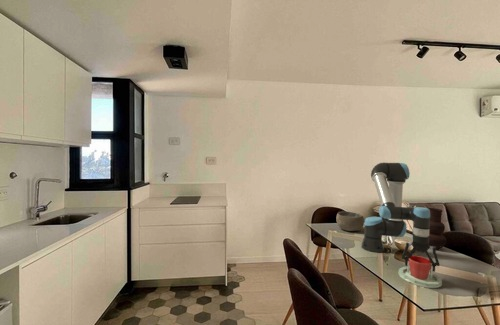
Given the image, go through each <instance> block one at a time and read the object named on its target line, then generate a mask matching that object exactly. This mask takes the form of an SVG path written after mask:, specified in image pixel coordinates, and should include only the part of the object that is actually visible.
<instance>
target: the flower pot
mask: <svg viewBox="0 0 500 325" xmlns="http://www.w3.org/2000/svg"><path fill="white" fill-rule="evenodd" d="M431 264H432V263H431V262H430V260H429V258H426V257H423V256H419V255H412V256H411V257H410V258H409V267H410V272H411V275H412V276H413V277H415V278H418V279H423V280H425V279H427V278H428V275H429V272H430V268H431Z"/></svg>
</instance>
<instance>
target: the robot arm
mask: <svg viewBox="0 0 500 325" xmlns="http://www.w3.org/2000/svg"><path fill="white" fill-rule="evenodd" d="M370 176H371V180H372V182H374V186H375V188H376V192H377V194H378V199H379V201H380V202H379V203H380V206H379V209H378V212H379V213H378V214H379V216H369V217H366V218H364V225H363V226H364V231H363V232H364V236H363V239H362V242H361V244H360V245H361V248H362V249H363V250H365V251H368V252H371V253H383V252H384V251H385V246H384V242H383V240H382V238H383V237H395V238H403V237H404V236H405V235H406V233H407V223H406V221H412V222H413V223H412V224H413V226H412V242H408V241H406V242H405V247H404V250H403V253H402V255H401V259H402V260H404V263H405V264H404V265H405V266H404V267H407V272H408V273H409V267H410V266H409V258H410V257H411V256H414V254H415V253H416V252H417V253H418V252H419V253H422V254H423V253H425V255H426V257H427V259H429V260H430V262H431V263H432V264H431V268H430V277H431V278H432V274H433V273H435V272H436V267H439V266H440V262H439V258H438V256H437V253H436V252H437V250H436V248H435V246H433V247H432V246H429V237H428V236H429V227H430V210H429V209H428V207H421V206H405V207H404V206H402V203H403V186H404V184H405V183H406V180H409V178H410V169H409V166H408V165H407V164H406V163H403V162H379V163H377V164H376V165H374V167H372V170H371V173H370ZM411 246H412V249H411V250H410V252H409V253H408V250H409V248H410V247H411ZM429 249H430V250H431V251H432V253H433V257H434V259H433V258H432V256H431V254H430V253H429V252H428V250H429ZM407 253H408V254H407ZM434 260H435V262H434Z"/></svg>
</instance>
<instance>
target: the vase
mask: <svg viewBox="0 0 500 325" xmlns="http://www.w3.org/2000/svg"><path fill="white" fill-rule="evenodd" d="M427 208H428V207H427ZM428 209H429V210H430V227H429V236H428V237H429V246H432V247H433V246H435V248H436V251H440V250H441V249H442V248H444V247H445V246H446V244H447V243H448V240H447V239H448V238H447V237H446V235H444V232H445V231H446V226H445V224H444V223H443V222H442V215H443V209H441V208H434V207H429V208H428ZM439 249H440V250H439Z"/></svg>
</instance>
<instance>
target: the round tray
mask: <svg viewBox="0 0 500 325" xmlns="http://www.w3.org/2000/svg"><path fill="white" fill-rule="evenodd" d="M398 276H399V277H400V278H401V279H402V280H403V281H405V282H406V283H407V282H408V283H409V282H412V283H414V284H415V285H414V284H413V285H414V286H418V287H422V288H425V289H427V288H428V289H437V288H441V287H442V285H443V281H442V278H441V277H440V276H439V275H437V274H436V273H435V272H433V274H432V278H431V277H430V272H429V275H428V278H427V279H425V280H423V279H418V278H415V277H413V276H412V275H411V272H410V266H409V273H408V272H407V266H402V267H400V268H398Z"/></svg>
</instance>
